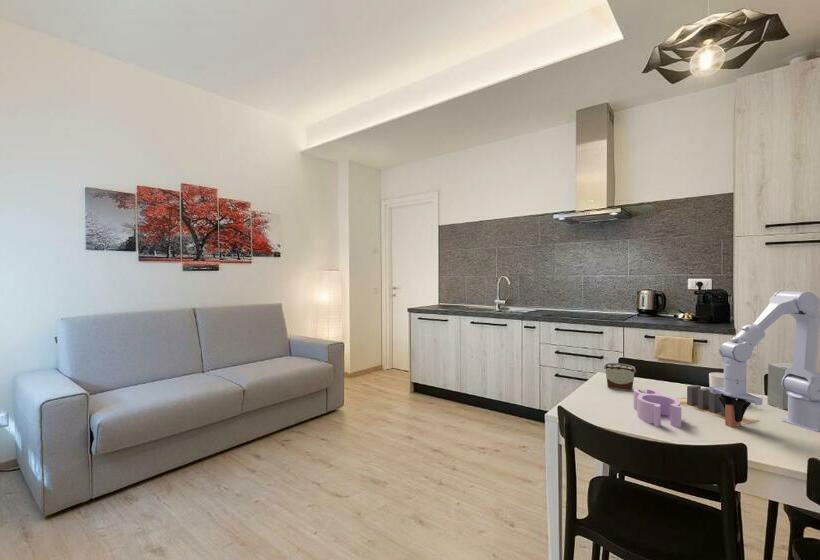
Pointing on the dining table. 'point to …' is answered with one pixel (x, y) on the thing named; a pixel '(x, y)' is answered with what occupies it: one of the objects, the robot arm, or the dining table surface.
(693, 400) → the domino
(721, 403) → the domino
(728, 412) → the rust domino
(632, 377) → the food container
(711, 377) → the white cup
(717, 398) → the domino
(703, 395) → the domino
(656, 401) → the clip
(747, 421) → the cork strip
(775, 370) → the skincare box
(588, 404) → the dining table surface
